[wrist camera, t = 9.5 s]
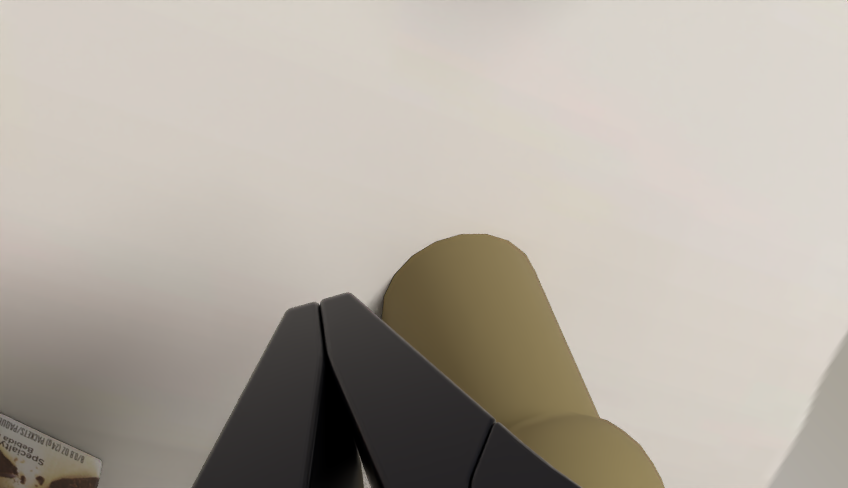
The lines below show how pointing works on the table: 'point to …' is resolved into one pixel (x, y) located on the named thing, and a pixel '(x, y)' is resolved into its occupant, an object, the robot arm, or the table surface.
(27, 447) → the coffee box
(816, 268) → the table surface
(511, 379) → the olive tapered upright piece
